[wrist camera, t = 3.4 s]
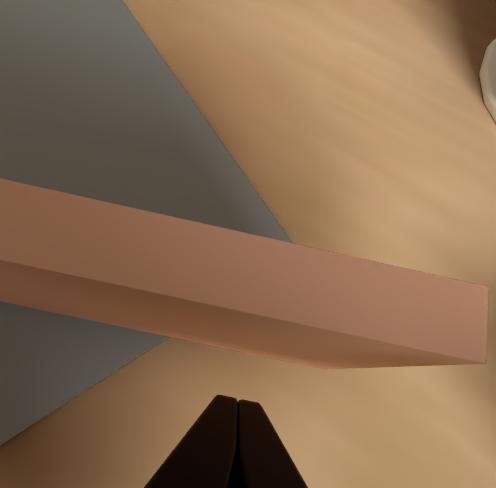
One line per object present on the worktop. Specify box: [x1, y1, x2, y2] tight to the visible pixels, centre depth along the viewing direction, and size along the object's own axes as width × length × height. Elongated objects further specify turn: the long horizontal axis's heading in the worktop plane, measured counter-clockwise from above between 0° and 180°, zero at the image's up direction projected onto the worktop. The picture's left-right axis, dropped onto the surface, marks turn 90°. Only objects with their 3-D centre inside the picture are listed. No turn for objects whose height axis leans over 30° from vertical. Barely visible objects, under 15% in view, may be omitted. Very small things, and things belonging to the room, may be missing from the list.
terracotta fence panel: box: [0, 178, 488, 369], centre depth 11 cm, size 16×1×9 cm, turn 79°
